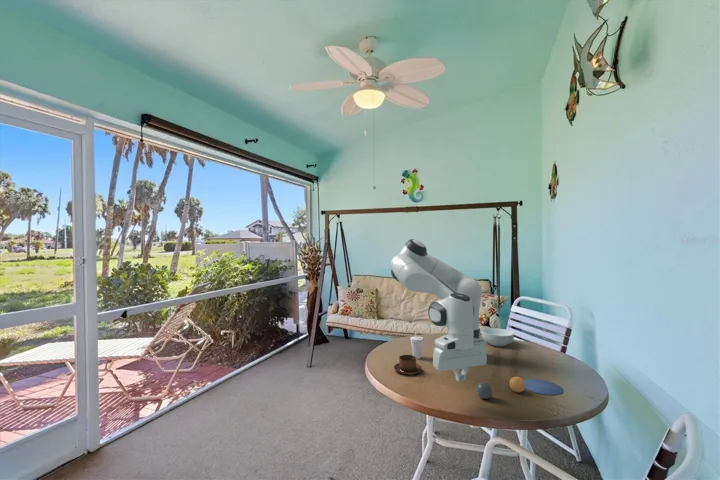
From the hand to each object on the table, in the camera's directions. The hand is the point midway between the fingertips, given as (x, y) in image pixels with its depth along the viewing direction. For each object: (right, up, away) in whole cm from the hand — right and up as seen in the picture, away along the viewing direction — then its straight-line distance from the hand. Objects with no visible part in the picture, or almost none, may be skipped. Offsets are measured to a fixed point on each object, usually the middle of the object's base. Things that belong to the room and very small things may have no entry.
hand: (460, 379), depth 119 cm
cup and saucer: (-14, -9, +29) cm, 34 cm away
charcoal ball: (+10, -5, +3) cm, 11 cm away
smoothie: (-8, -9, +46) cm, 47 cm away
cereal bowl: (+40, -8, +67) cm, 79 cm away
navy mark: (+35, -8, +12) cm, 38 cm away
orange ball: (+24, -5, +8) cm, 25 cm away
